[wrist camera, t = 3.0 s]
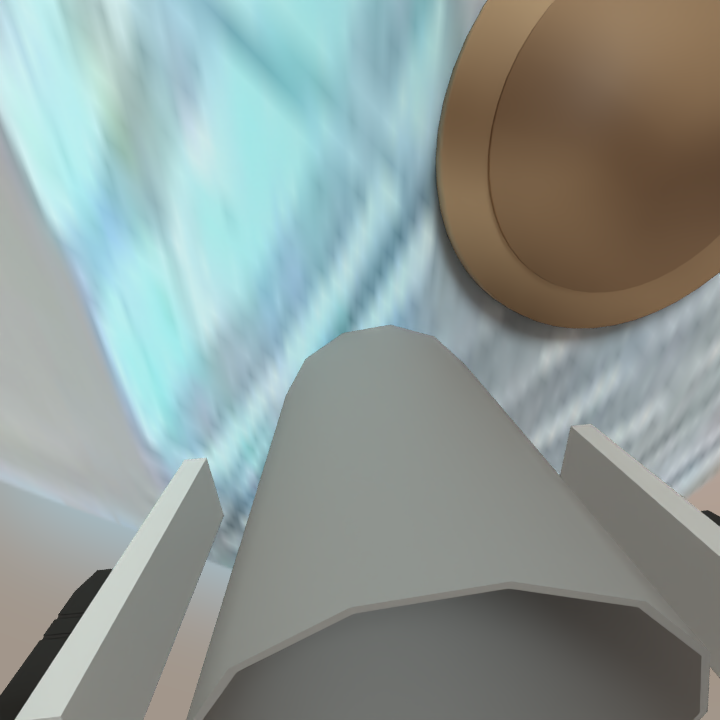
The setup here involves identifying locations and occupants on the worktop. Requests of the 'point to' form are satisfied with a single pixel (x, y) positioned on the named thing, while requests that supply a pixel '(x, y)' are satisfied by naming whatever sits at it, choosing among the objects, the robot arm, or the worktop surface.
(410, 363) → the cup
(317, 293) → the worktop surface
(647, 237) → the plate
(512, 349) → the worktop surface
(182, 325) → the worktop surface
